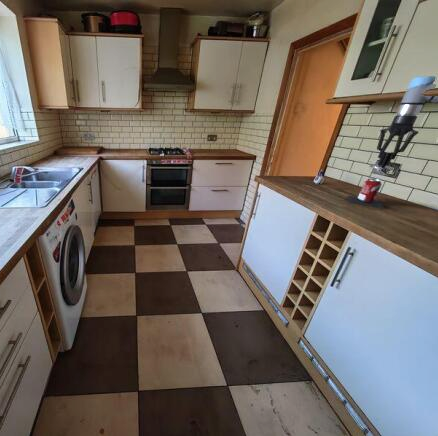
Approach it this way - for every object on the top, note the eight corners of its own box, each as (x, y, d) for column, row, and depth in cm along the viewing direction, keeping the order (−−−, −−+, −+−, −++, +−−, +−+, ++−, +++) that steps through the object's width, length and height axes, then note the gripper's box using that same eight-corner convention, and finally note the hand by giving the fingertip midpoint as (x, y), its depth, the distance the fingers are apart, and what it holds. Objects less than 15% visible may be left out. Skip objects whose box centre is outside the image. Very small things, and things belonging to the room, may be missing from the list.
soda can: (361, 202, 124) (371, 181, 119) (354, 198, 130) (363, 177, 124) (375, 203, 122) (386, 182, 117) (368, 199, 128) (377, 178, 123)
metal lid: (390, 167, 118) (398, 152, 115) (395, 171, 112) (403, 154, 108) (368, 165, 123) (375, 150, 120) (371, 168, 116) (378, 152, 113)
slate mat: (378, 201, 127) (379, 200, 127) (383, 208, 118) (384, 207, 118) (347, 196, 134) (347, 195, 134) (349, 202, 125) (349, 201, 125)
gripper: (427, 115, 105) (401, 166, 116) (382, 114, 113) (362, 161, 123) (433, 115, 100) (405, 168, 110) (386, 114, 108) (364, 164, 118)
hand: (382, 165), depth 117 cm, fingers closed on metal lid, 2 cm apart
